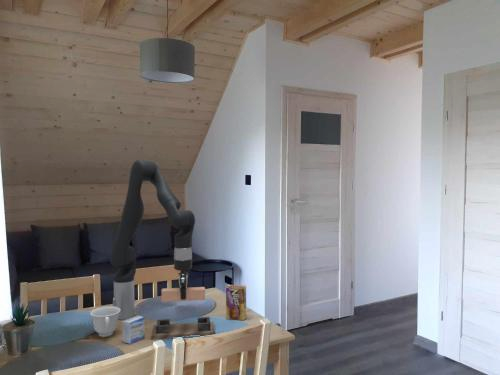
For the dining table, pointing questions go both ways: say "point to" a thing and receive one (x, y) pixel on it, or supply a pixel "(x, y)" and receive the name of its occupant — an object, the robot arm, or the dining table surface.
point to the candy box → (236, 302)
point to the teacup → (105, 320)
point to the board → (182, 329)
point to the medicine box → (133, 329)
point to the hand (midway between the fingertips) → (183, 297)
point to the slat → (175, 294)
